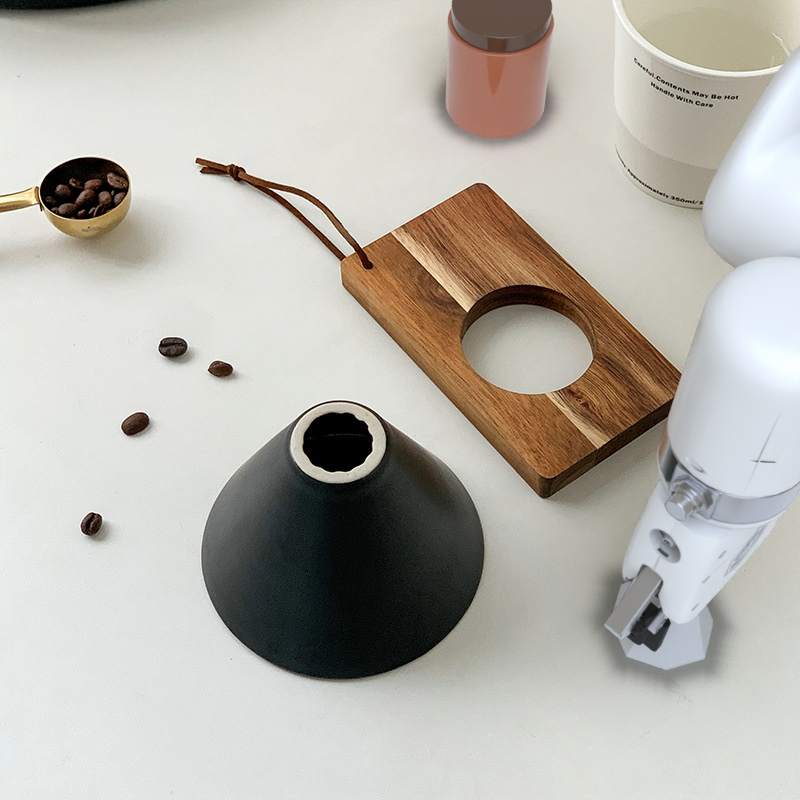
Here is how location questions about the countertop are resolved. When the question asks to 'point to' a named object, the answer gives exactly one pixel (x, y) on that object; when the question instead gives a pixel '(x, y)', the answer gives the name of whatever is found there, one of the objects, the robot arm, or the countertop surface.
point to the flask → (673, 640)
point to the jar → (498, 64)
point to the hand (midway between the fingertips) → (673, 594)
